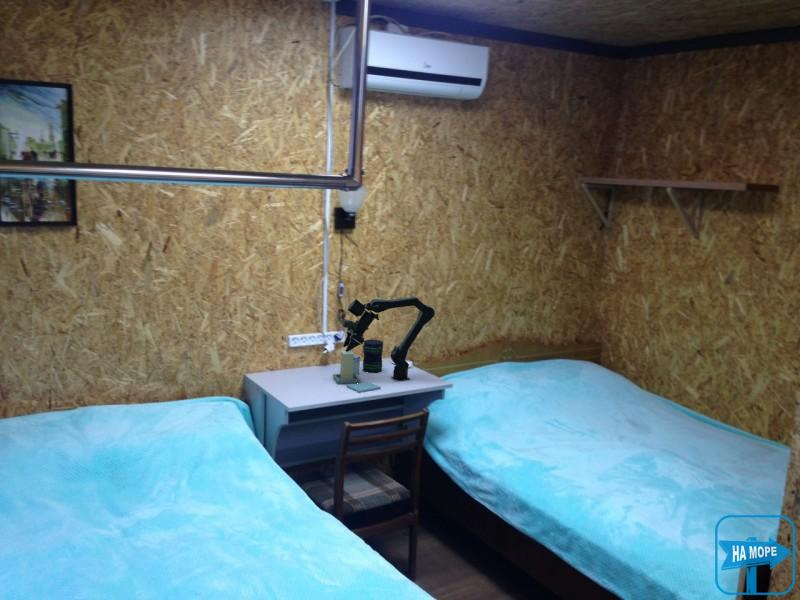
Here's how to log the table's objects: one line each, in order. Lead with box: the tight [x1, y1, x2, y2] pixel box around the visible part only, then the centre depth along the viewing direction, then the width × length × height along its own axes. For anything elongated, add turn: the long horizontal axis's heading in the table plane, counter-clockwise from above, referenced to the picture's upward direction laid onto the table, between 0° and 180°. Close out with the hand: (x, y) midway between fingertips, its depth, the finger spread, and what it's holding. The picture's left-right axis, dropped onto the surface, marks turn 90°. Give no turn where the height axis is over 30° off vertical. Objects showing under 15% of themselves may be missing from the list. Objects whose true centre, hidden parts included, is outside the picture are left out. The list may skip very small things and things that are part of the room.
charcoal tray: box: [332, 373, 361, 385], centre depth 323 cm, size 11×11×2 cm
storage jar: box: [362, 339, 384, 374], centre depth 343 cm, size 10×10×15 cm
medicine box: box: [353, 355, 361, 375], centre depth 337 cm, size 8×4×9 cm, turn 62°
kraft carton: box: [339, 349, 355, 380], centre depth 322 cm, size 5×5×14 cm
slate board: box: [346, 381, 382, 394], centre depth 313 cm, size 12×10×1 cm
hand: (344, 349), depth 323 cm, fingers open, 9 cm apart
